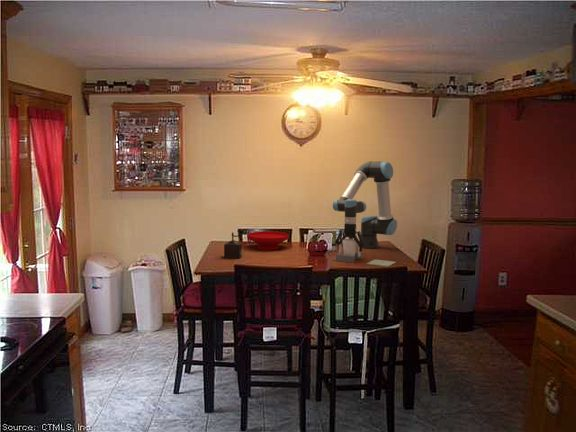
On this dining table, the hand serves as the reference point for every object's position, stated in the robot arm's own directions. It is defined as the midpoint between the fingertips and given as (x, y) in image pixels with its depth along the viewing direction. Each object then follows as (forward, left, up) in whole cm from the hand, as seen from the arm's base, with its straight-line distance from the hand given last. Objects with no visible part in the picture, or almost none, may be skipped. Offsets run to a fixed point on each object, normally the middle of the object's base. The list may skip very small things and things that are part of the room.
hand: (349, 255), depth 342 cm
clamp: (0, 0, -3) cm, 3 cm away
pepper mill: (+33, -69, -3) cm, 77 cm away
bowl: (-7, -68, -3) cm, 68 cm away
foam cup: (0, 0, -3) cm, 3 cm away
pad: (0, +22, -3) cm, 22 cm away
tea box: (-22, -30, -3) cm, 37 cm away
